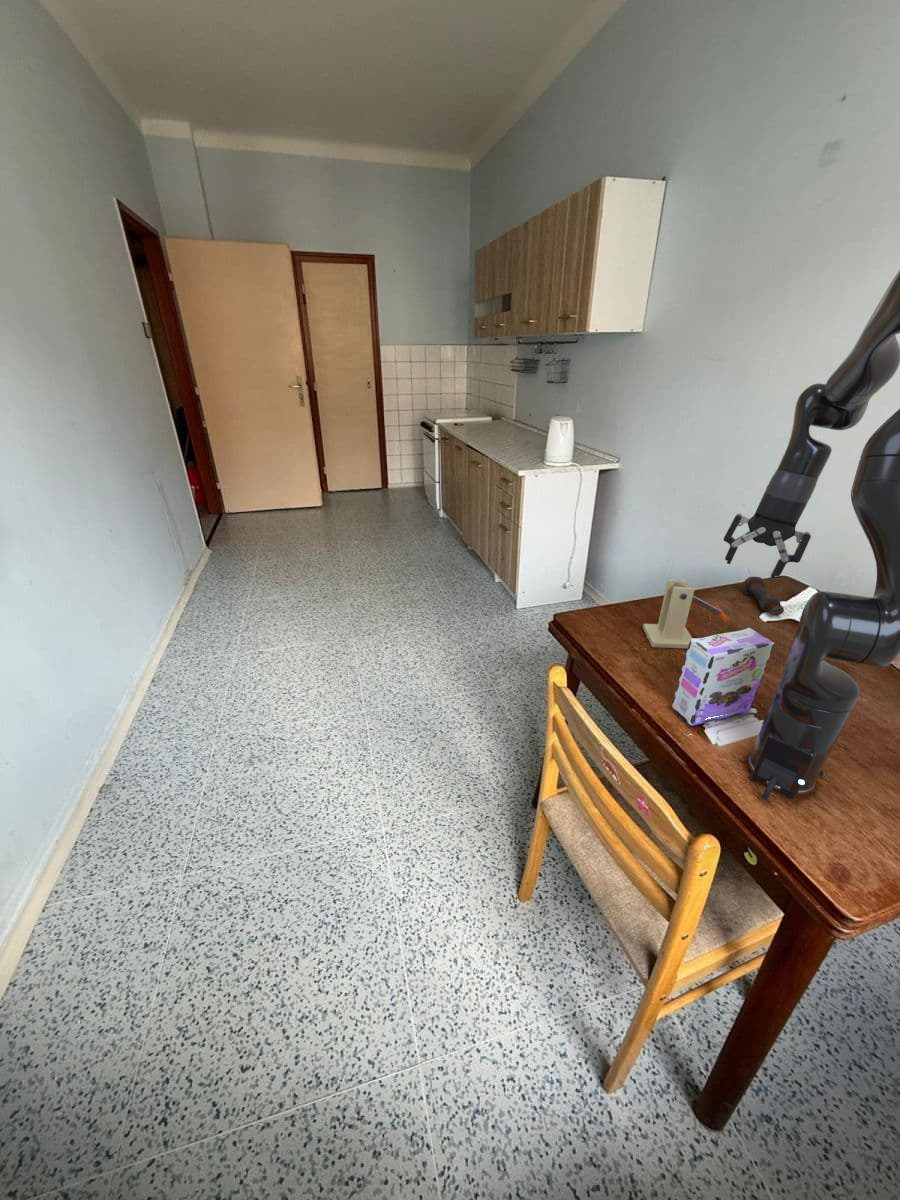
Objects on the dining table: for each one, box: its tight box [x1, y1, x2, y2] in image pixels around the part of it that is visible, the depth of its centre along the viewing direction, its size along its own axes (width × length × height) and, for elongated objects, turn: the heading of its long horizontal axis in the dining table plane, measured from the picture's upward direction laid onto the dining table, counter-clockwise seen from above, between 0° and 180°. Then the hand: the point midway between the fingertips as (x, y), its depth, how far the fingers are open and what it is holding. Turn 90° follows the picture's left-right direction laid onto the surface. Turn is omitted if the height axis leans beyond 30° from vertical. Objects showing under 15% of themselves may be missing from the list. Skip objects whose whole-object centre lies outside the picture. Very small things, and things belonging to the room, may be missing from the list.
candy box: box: [671, 627, 775, 727], centre depth 89 cm, size 14×6×16 cm, turn 105°
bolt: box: [741, 576, 785, 617], centre depth 128 cm, size 6×5×15 cm
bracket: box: [642, 578, 696, 650], centre depth 112 cm, size 10×9×15 cm
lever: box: [670, 582, 730, 623], centre depth 110 cm, size 14×6×2 cm, turn 85°
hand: (750, 569), depth 100 cm, fingers open, 8 cm apart
